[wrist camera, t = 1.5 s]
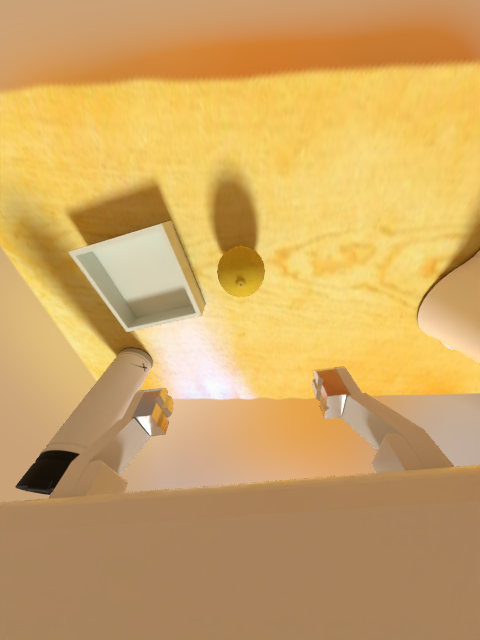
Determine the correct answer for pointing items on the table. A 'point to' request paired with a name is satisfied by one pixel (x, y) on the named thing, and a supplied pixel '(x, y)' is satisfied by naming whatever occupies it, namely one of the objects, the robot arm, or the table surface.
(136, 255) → the bin
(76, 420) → the travel mug
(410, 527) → the robot arm
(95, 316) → the table surface
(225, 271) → the lemon
